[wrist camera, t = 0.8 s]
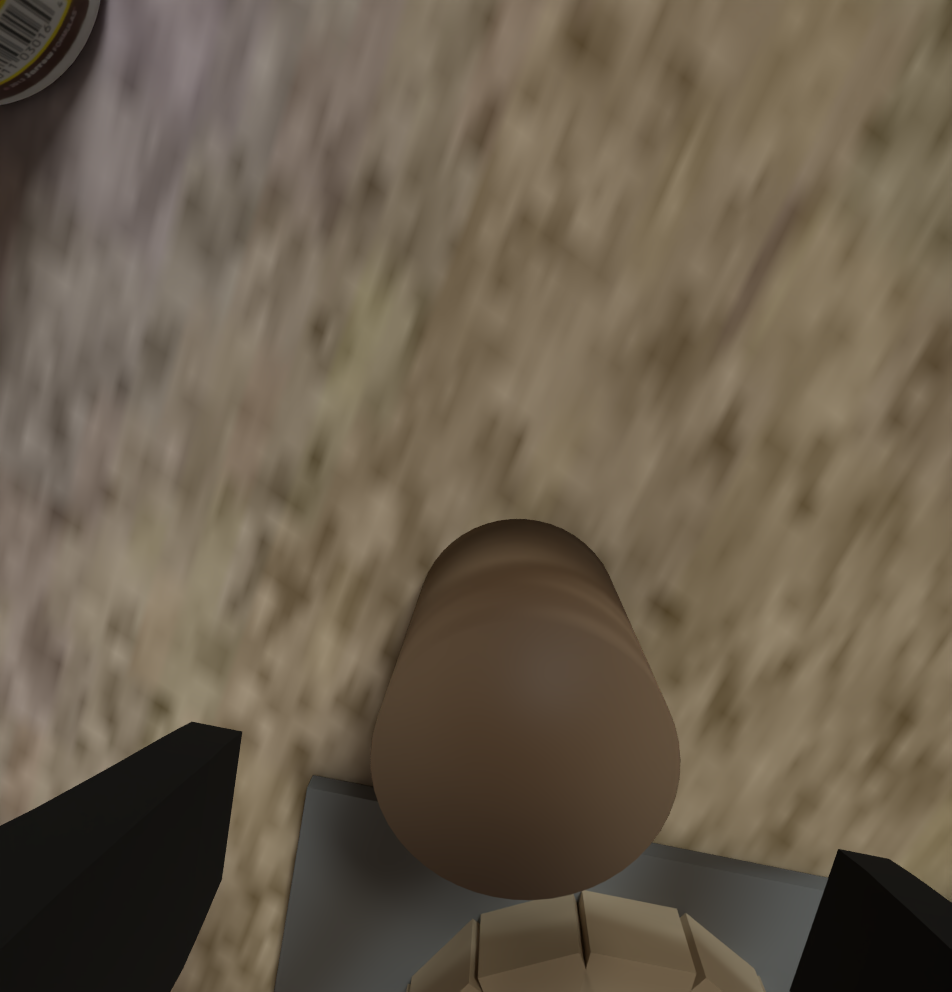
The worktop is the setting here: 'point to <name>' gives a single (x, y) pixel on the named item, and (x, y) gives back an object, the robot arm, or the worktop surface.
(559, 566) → the walnut peg
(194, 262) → the worktop surface
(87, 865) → the robot arm
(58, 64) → the supplement bottle
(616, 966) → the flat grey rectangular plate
